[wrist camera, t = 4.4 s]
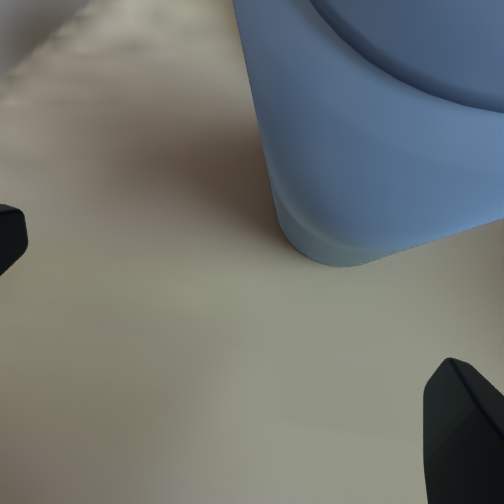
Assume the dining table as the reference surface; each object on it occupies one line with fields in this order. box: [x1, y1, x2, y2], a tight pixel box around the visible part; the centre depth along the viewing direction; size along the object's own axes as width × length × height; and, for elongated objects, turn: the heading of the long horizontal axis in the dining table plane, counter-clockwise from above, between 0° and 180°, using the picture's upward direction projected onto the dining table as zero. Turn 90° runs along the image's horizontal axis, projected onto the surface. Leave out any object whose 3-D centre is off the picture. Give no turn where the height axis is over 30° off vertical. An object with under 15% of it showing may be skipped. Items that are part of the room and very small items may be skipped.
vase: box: [233, 0, 504, 267], centre depth 10 cm, size 5×5×13 cm
